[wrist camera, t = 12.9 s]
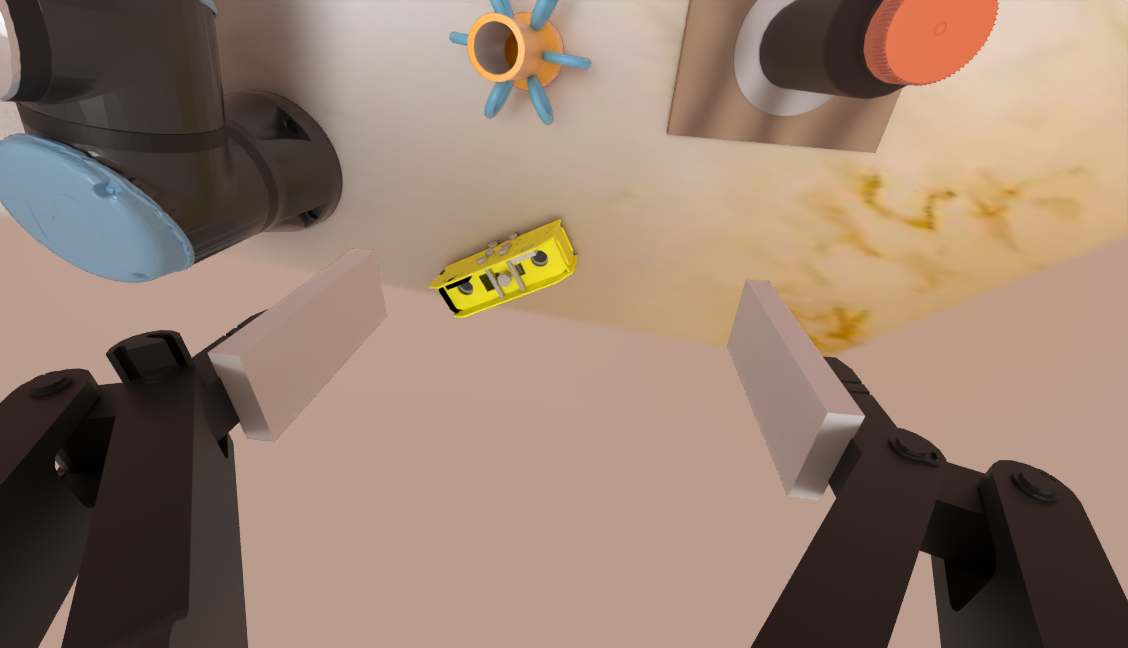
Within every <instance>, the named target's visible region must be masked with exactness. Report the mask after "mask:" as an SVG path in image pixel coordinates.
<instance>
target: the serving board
mask: <svg viewBox="0 0 1128 648" xmlns="http://www.w3.org/2000/svg"><path fill="white" fill-rule="evenodd" d="M794 1H795V0H690V3H689V9H688V14H687V20H686V26H685V31H684V37H683V43H682V49H681V54H680V60H679V66H678V71H677V77H676V83H675V89H674V94H673V100H672V106H671V111H670V117H669V123H668V129H667V133H668V134H670V135H682V136H693V137H704V138H715V139H727V140H738V141H749V142H761V143H772V144H783V145H794V146H806V147H817V148H828V149H840V150H851V151H862V152H873V153H876V150H877V148H878V146H879V143H880V141H881V138H882V136H883V133H884V131H885V129H886V126H887V124H888V121H889V119H890V116H891V114H892V112H893V109H894V107H895V104H896V102H897V99H898V97H899V95H900V92H901V90H902V88H901V89H899V90H897V91H895V92H893V93H891V94H889V95H886V96H882V97H877V98H872V99H859V98H850V97H843V96H836V95H828V94H821V93H814V92H806V91H799V90H792V89H784V88H780V87H778V86H776V85H774V84H772V83H771V82H770V81H769V80H768V79H767V78H766V76H765V75H764V74H763V71H762V68H761V65H760V50H759V48H760V45H761V41H762V37H763V34H764V32H765V30H766V29H767V27H768V25H769V23H770V21H771V20H772V19H773V18H774V17H775V16H776V15H777V14H778V13H779V11H780V10H781V9H782V8H784V7H786V6H787V5H789V4H791V3H792V2H794Z"/></svg>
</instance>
